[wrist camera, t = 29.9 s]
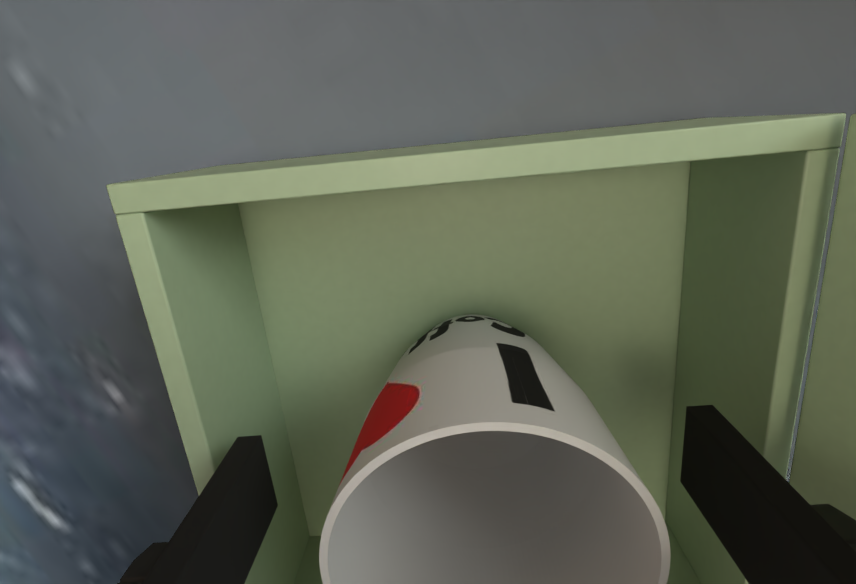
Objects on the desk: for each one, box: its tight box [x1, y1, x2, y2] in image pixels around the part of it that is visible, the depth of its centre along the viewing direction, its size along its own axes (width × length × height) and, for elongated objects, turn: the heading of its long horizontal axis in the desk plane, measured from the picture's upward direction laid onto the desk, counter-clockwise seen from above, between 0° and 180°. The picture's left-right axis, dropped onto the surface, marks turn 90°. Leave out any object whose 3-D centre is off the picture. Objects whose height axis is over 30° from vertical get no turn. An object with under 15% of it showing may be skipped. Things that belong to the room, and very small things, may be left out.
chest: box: [106, 113, 846, 584], centre depth 18 cm, size 19×19×7 cm
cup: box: [319, 314, 671, 584], centre depth 16 cm, size 8×8×10 cm
